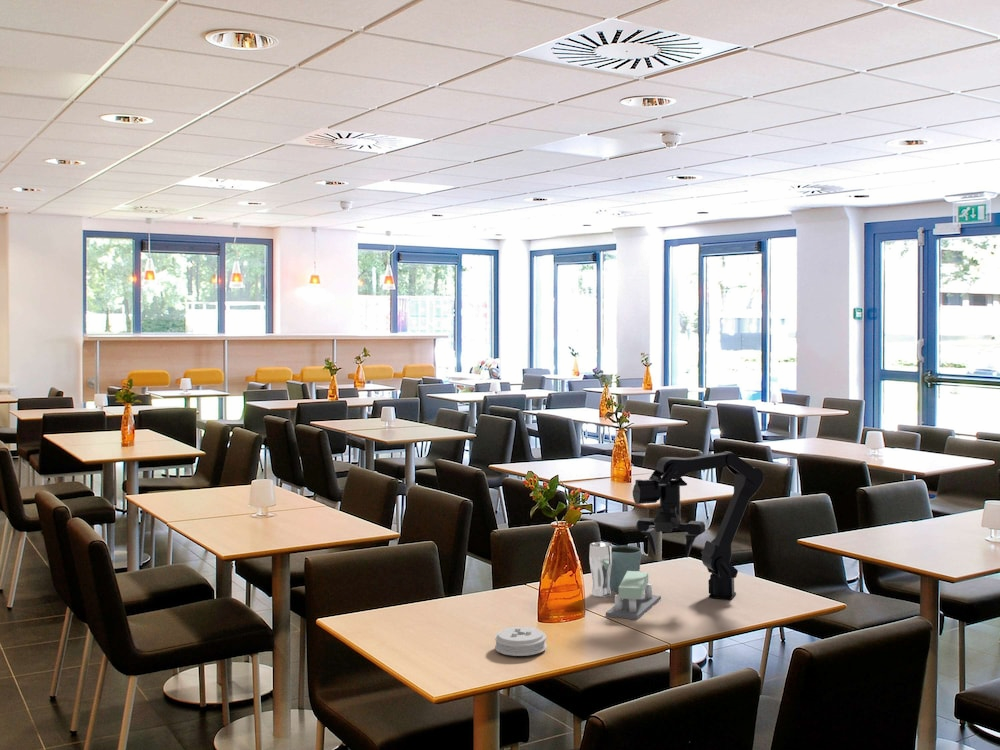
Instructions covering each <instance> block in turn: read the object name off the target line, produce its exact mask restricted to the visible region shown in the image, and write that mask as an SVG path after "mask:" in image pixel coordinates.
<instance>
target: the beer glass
mask: <svg viewBox="0 0 1000 750" xmlns="http://www.w3.org/2000/svg"><path fill="white" fill-rule="evenodd" d="M612 547H613V544H612V543H611V542H607V541H597V542H591V543H590V544H589V553H588V554H589V557H588V558H589V566H590V567H589V568H590V573H591V578H592V590H591V596H593V597H596V598H609V597H612V596H613V590H612V589H611V575H612V568H613V551H612Z"/></svg>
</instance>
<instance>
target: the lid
mask: <svg viewBox="0 0 1000 750" xmlns="http://www.w3.org/2000/svg"><path fill="white" fill-rule="evenodd" d="M494 640H495V646H494V649H495V650H496V651H497V653H499V654H502V655H505V656H514V657H517V656H518V657H523V656H533V655H537V654H540V653H543V652H544V651H545V650H546V649H547V646H548V645H547V644H546V640H547V634H546V633H545V632H544V631H542V630H541V629H539V628H537V627H531V626H512V627H508V628H504V629H502V630H500V631H499V632H498V633H496V634H495V636H494Z"/></svg>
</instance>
